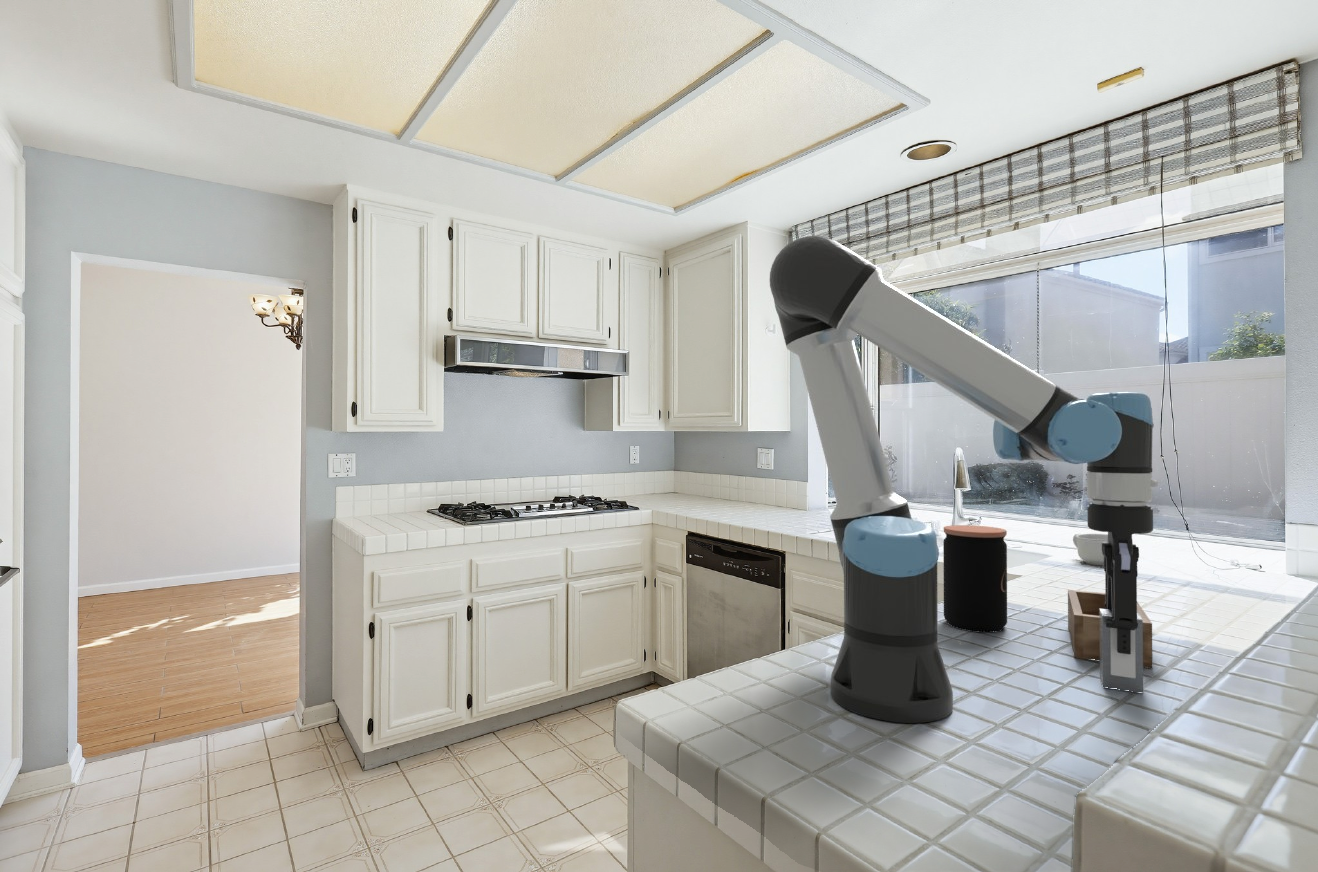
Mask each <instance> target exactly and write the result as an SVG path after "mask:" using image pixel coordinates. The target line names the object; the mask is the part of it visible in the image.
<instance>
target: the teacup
mask: <svg viewBox="0 0 1318 872" xmlns="http://www.w3.org/2000/svg"><path fill="white" fill-rule="evenodd" d="M1072 542H1073V545H1074V546H1075V547H1076V550H1077V554H1078V557H1079V558H1080V559H1081V560H1082V561H1083V562H1085V563H1086V564H1089V565H1094V566H1102V567H1103V563H1104V555H1103V553H1102V542H1108V533H1076V534H1074V535H1073V537H1072Z"/></svg>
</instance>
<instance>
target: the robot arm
mask: <svg viewBox="0 0 1318 872" xmlns="http://www.w3.org/2000/svg"><path fill="white" fill-rule="evenodd" d="M769 287H770V292H771V295H772V298H773V302H774V306H775V307H774V308H775V310H776V313H777V315H778V319H779V320H778V321H779V323H780V329H781V332H782V335H783V339H784V343H785V346H786V350H788V351H789V352H792V353H793V354H795V355H797V356H798V357H799V362H800V366H801V369H802V374H803V377H804V382H805V385H806V389H807V393H808V396H809V400H810V405H811V408H812V413H813V416H814V420H815V424H816V427H817V431H818V435H819V440H820V443H821V447H822V451H823V455H824V459H825V463H826V466H827V470H828V474H829V478H830V482H831V486H832V491H833V495H834V497H835V501H836V505H835V507H834V509H833V511H832V512H831V514H830V516H829V518H830V523H831V527H832V529H833V534H834V537H835V542H836V546H837V550H838V557H839V561H840V564H841V567H842V571H843V572H842V573H843V599H844V600H843V610H844V611H843V622H844V623H843V625H844V626H843V629H844V631H843V632H844V633H843V638H842V642H841V644H840V649H839V650H838V654H837V657H836V660H835V663H834V666H833V668H832V671H831V677H830V695H831V698H832V699H833V700H834V702H836V703H837V704H838V705H840V706H841V707H842V708H844V709H846V710H848V711H850V712H853V713H855V714H858V715H860V716H864V717H867V718H872V719H874V720H875V719H876V720H881V721H886V722H893V723H906V724H907V723H908V724H914V723H915V724H918V723H919V724H920V723H930V722H935V721H939V720H942V719H944V718H946V717H949V716H950V715H951V714H952V712H953V711H954V703H953V702H954V699H953V698H954V697H953V696H954V694H953V688H952V685H951V681H950V679H949V676H948V672H947V670H946V665H945V664H944V660H943V658H942V655H941V654H942V653H941V651H940V648H939V641H938V637H939V635H938V632H939V631H938V625H939V623H938V619H939V618H938V561H939V555H940V549H939V545H938V540H937V534H936V532H935V530H934V529H933V527H931V526H930V525H928V524H927V523H925V522H923V521H920V520H914V519H913V518H912V515H911V511H910V508H909V504H908V501H907V499H905V498H904V497H902V496H900V495H899V494H897V493H896V492H895V491H894V488H893V483H892V481H891V476H890V473H889V469H888V465H887V462H886V458H885V454H884V451H883V446H882V443H881V438H880V436H879V431H878V428H877V425H876V420H875V417H874V412H873V409H872V405H871V402H870V397H869V393H868V390H867V387H866V382H865V378H864V375H863V371H862V370H863V369H862V367H861V362H860V360H859V356H858V351H857V348H856V345H855V339H856V338H857V336H858V335H859V336H861V337H862V338H863V339H866V341H869V342H870V343H871V344H873V345H875V346H876V347H878V348H880V349H881V350H882V351H885V352H886V353H888V354H889V355H891V356H892V357H894V358H895V359H897V360H898V361H901V362H902V363H903V364H906V365H907V366H909V368H912V369H913V370H915V371H916V372H917V373H920V374H921V375H922V376H923V377H926V378H928V379H929V380H931V381H933V382H934V383H936V384H937V385H939V386H941V387H942V388H944V389H945V390H947V391H948V392H950V393H951V394H953V395H955V396H956V397H958V398H960V399H961V400H963V401H965V402H966V403H968V404H969V405H971V406H973V407H974V408H976V409H977V410H979V411H980V412H982V413H984V414H985V415H987V416H988V417H990V418H992V419H993V420H994V423H993V429H992V438H993V446H994V450H995V453H996V455H997V456H998V457H999V458H1000V459H1002V460H1009V461H1010V460H1013V461H1021V462H1022V461H1023V462H1024V461H1047V462H1061V463H1069V464H1073V465H1079V464H1086V465H1087V466H1086V499H1088V500H1091V502H1090V503H1088V504H1087V528H1088V529H1090V530H1091V531H1096V532H1103V533H1107V534H1108V542H1102V553H1103V555H1104V563H1103V566H1102V567H1103V570H1104V574H1105V575H1104V576H1105V581H1104V583H1105V585H1104V586H1105V588H1104V589H1105V600H1106V602H1105V608H1106V609H1110V610H1112V621H1111V623H1106V627H1109V628H1110V648H1111V675H1116V676H1122V677H1129V678H1136V669H1135V629H1137V626H1138V622H1137V602H1138V595H1137V594H1138V583H1137V582H1138V580H1137V579H1138V578H1137V577H1138V562H1139V558H1140V549H1139V546H1137V545H1136V544H1133V543H1134V542H1133V535H1134V534H1137V535H1138V534H1139V535H1144V534H1150V533H1152V532H1153V531H1154V509H1153V508H1152V506H1151V505H1149V504H1148V503H1150V502H1152V501H1153V489H1152V488H1157V487H1158V486H1159V485H1158V484H1159V483H1158V480H1156V479H1152V478H1153V429H1154V428H1155V427H1154V426H1155V425H1154V422H1153V420H1154V419H1153V409H1152V402H1151V399H1150V396H1148V394H1147V395H1146V394H1145V393H1142V392H1133V391H1129V392H1128V391H1124V392H1123V391H1122V392H1121V391H1120V392H1105V393H1104V392H1102V393H1101V392H1099V393H1093V394H1089V396H1087V399H1084V398H1078V397H1077V396H1075V395H1073V394H1072V393H1071V392H1068V391H1067V390H1065V389H1063V388H1062V387H1060V386H1058V385H1057V384H1055V383H1053V382H1052V381H1050V380H1048V379H1046V378H1045V377H1043V376H1041V374H1039V373H1037V372H1035V371H1034V370H1032V369H1030V368H1029V367H1027V366H1025V365H1024V364H1022V363H1020V362H1019V361H1017V360H1016V359H1013V358H1012V357H1010V356H1009V355H1007V354H1006V353H1004V352H1002V351H1001V350H1000V349H997V348H996V347H994V346H993V345H991V344H989V343H988V342H986V341H984V340H983V339H981V338H979V337H978V336H976V335H974V334H972V333H971V332H970V331H968V330H966V329H964V328H963V327H961V326H960V325H958V324H956V323H955V322H953V321H951V320H950V319H948V318H947V317H945V316H943V315H941V314H940V313H938V312H936V311H935V310H933V309H932V308H930V307H928V306H926V305H925V304H923V303H922V302H920V301H918V300H917V299H915V298H914V297H912V296H910V295H909V294H907V293H905V292H904V291H902V290H900V289H899V288H897V287H895V286H894V285H892V284H890V283H889V282H887V281H886V280H884V278H883V274H882V269H881V268H880V267H879V266H877V265H875V264H874V263H872V262H870V261H868V260H867V259H865V258H863V257H862V256H860V255H859V254H857V253H856V252H854V251H853V250H851V249H850V248H848V247H846V246H844V245H842V244H841V243H840V242H838V241H836V240H834V239H830V238H828V237H825V236H820V235H810V236H809V235H808V236H804V237H800V238H796V239H794V240H793V241H791V242H789V243H788V244H786V246H784V247H783V248H782V249H780V251H779V252H778V254H777V255H776V256H775V258H774V260H773V262H772V264H771V268H770V271H769Z"/></svg>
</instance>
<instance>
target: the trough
mask: <svg viewBox="0 0 1318 872" xmlns="http://www.w3.org/2000/svg"><path fill="white" fill-rule="evenodd" d="M1105 602H1106V600H1105V593H1104V592H1095V591H1085V590H1077V589H1076V590H1074V589H1067V627H1068V628H1067V629H1068V632H1069V634H1068V635H1069V637H1070V643H1071V647H1072V652H1073V653H1074V654H1073V657H1074V659H1078V658H1082V659H1081V660H1085V659H1095V660H1100V619H1099V608H1100V609H1106V608H1105ZM1137 612H1138V614H1139V615H1140V617H1141V618H1142V620H1143V667H1148V668H1147V669H1150V668H1152V669H1153V622H1152V621H1151V620H1150V618H1149V617H1148V615H1147V614H1146V612H1145V611H1144V609H1143V608H1142V606H1141V605H1140V603H1139V602H1138V601H1137Z"/></svg>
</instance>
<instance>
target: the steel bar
mask: <svg viewBox="0 0 1318 872" xmlns="http://www.w3.org/2000/svg"><path fill="white" fill-rule="evenodd" d="M1099 619H1100V662H1099V679H1101V680H1100V683H1101V682H1102V683H1101V686H1102V685H1103V687H1108V688H1117V689H1120V690H1129V691H1133V692H1143V693H1144V668H1143V620H1142V618H1141V617H1140V615H1139V614H1138V612H1137V622H1138V626H1137V629H1135V669H1136V678H1129V677H1122V676H1116V675H1111V648H1110V628H1109V627H1106V623H1111V621H1112V610H1110V609H1100V608H1099ZM1103 687H1102V688H1103Z"/></svg>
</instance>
